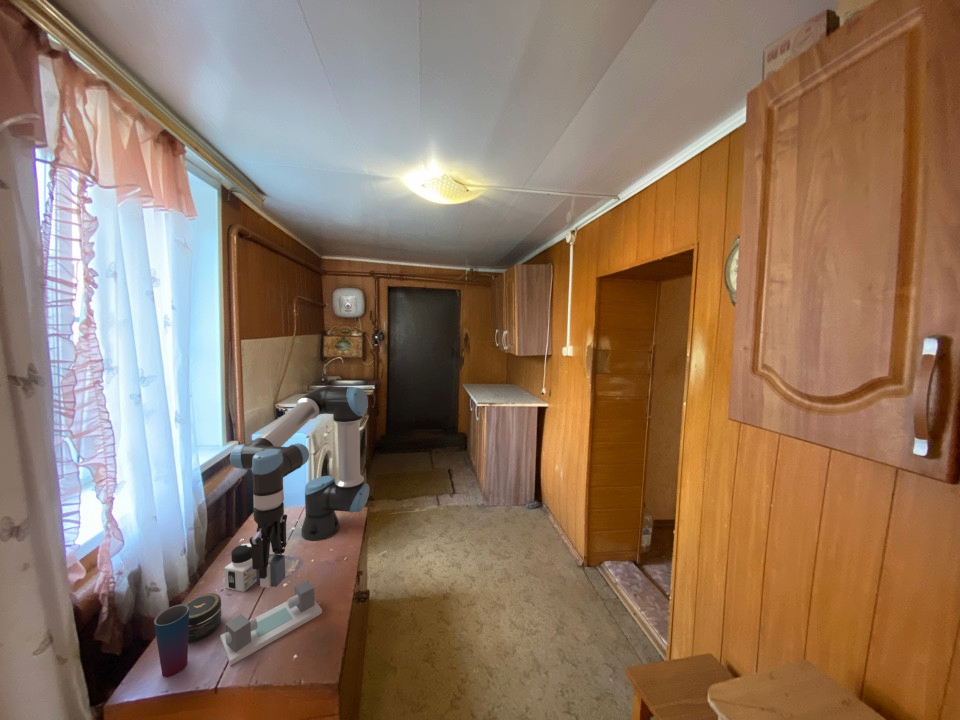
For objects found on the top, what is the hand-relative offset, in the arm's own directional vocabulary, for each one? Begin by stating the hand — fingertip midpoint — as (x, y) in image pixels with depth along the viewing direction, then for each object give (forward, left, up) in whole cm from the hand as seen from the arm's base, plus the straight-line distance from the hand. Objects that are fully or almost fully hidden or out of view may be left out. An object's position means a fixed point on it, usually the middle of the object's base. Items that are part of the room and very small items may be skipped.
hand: (271, 580), depth 104 cm
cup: (+22, -4, -15) cm, 27 cm away
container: (+1, -27, -15) cm, 31 cm away
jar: (+15, -14, -15) cm, 25 cm away
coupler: (0, 0, 0) cm, 0 cm away
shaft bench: (0, 0, -15) cm, 15 cm away
